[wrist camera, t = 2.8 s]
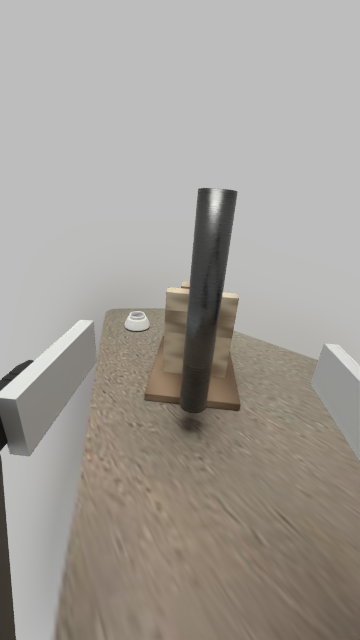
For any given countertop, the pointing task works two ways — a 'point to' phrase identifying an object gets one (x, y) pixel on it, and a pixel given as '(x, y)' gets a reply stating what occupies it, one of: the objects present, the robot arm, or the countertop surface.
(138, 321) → the lidless jar
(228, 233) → the crank handle
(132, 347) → the countertop surface
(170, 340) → the bearing stand
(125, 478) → the countertop surface
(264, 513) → the countertop surface
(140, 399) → the countertop surface
